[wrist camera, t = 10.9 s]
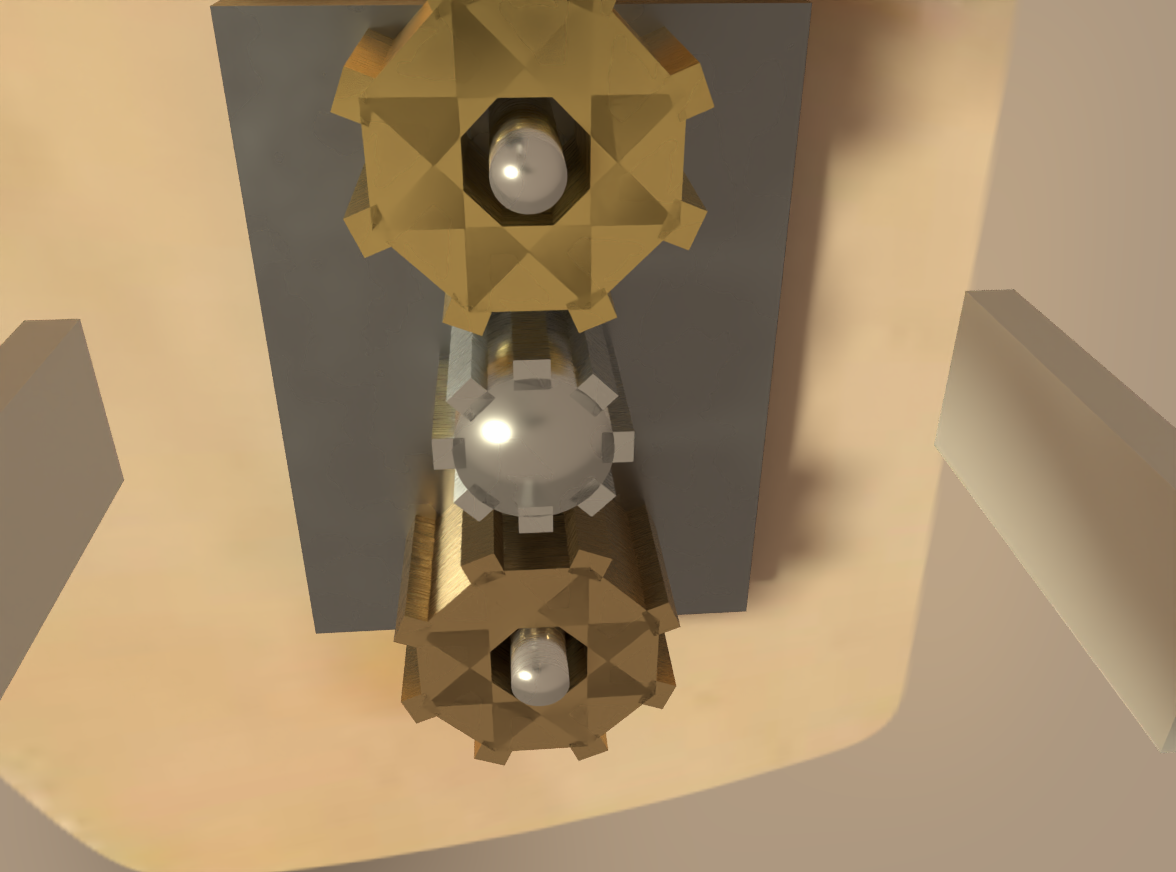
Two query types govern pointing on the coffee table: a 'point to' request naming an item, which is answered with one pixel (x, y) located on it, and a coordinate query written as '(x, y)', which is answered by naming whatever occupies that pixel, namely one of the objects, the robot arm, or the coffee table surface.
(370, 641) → the coffee table surface
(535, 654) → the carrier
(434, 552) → the seated gear
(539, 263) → the gear
